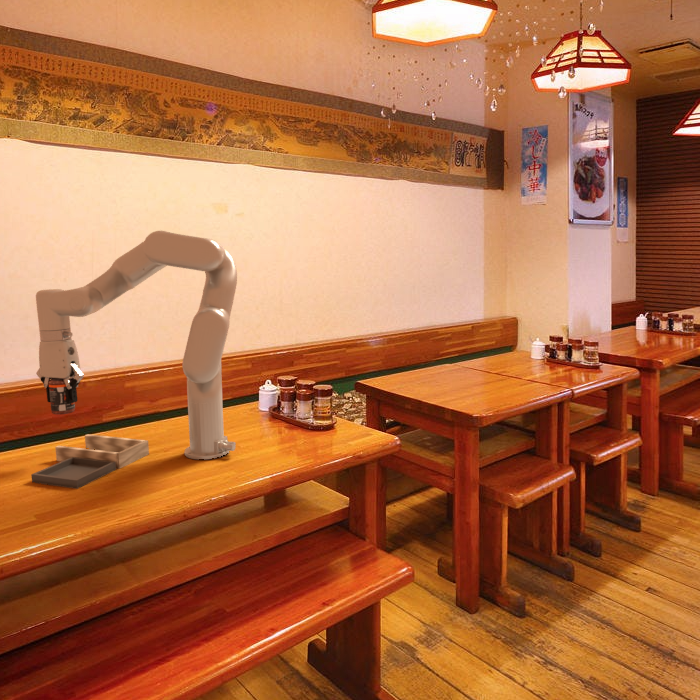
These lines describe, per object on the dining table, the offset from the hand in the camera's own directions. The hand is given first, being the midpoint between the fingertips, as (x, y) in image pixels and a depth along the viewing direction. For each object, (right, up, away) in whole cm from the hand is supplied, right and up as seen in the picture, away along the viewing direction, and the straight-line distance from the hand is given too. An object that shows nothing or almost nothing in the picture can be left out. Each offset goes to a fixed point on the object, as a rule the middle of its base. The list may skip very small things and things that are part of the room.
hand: (62, 401), depth 167 cm
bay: (+9, -16, +6) cm, 19 cm away
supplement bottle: (0, -3, +1) cm, 3 cm away
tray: (+7, -18, -8) cm, 22 cm away
